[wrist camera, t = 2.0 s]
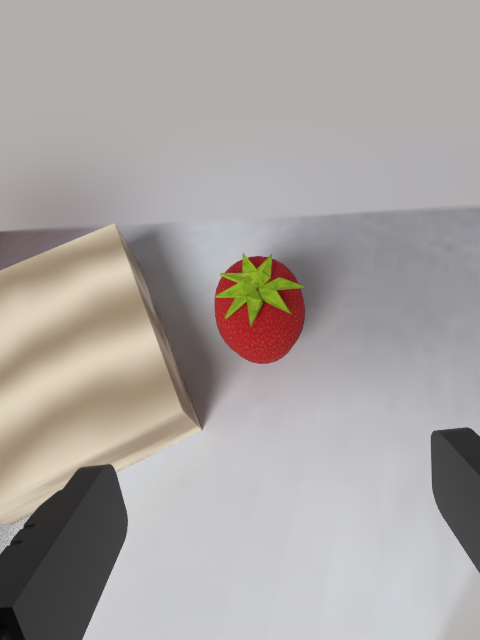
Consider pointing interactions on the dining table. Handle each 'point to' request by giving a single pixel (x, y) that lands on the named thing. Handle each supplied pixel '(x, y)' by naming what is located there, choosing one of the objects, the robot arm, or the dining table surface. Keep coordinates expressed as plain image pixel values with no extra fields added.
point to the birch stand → (81, 370)
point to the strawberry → (259, 309)
